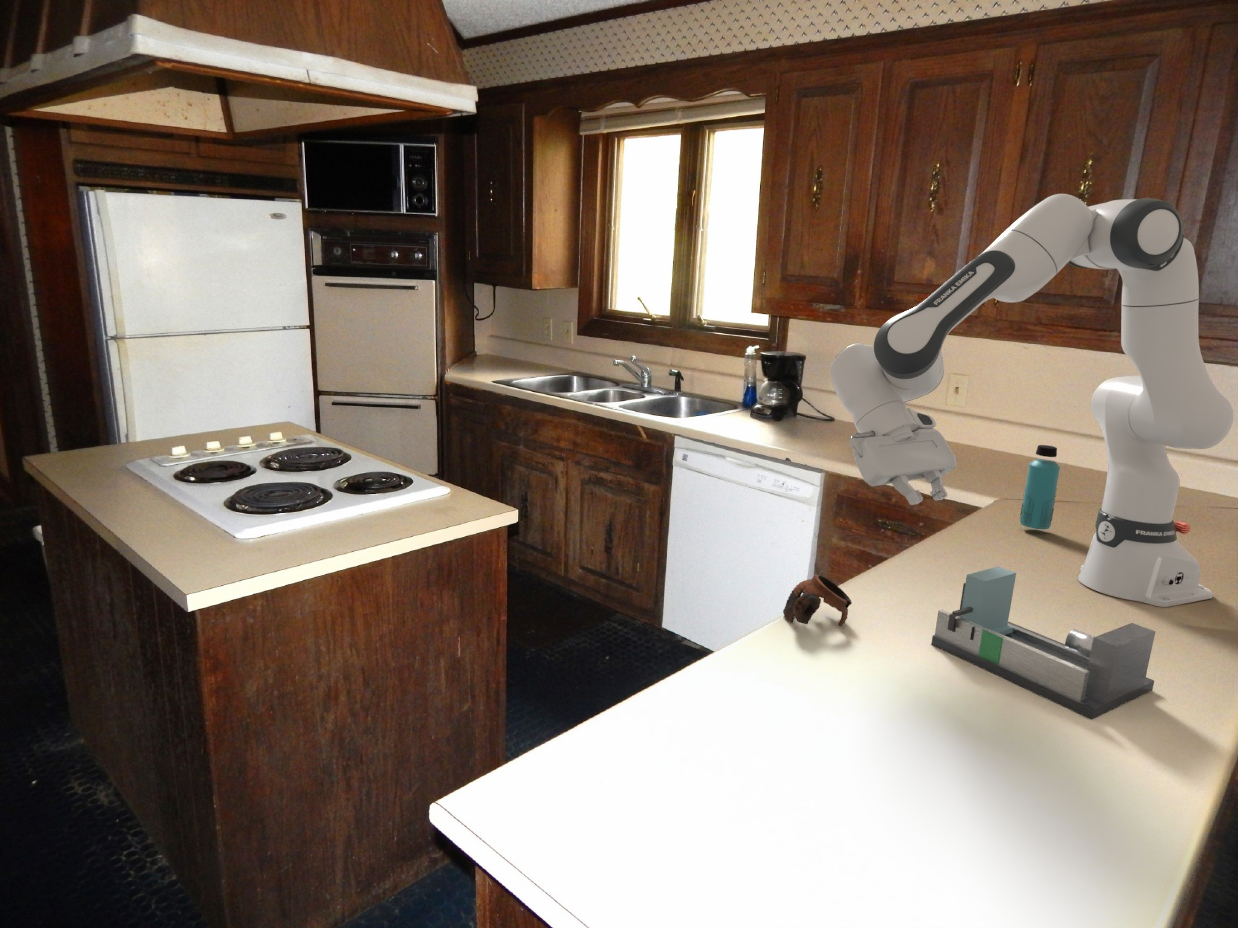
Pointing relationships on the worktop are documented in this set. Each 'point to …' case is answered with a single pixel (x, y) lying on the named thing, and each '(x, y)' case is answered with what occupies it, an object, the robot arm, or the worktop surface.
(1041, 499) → the beverage bottle
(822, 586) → the brown hollow ring part
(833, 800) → the worktop surface
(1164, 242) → the robot arm
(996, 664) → the frame
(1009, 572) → the gauge slider
